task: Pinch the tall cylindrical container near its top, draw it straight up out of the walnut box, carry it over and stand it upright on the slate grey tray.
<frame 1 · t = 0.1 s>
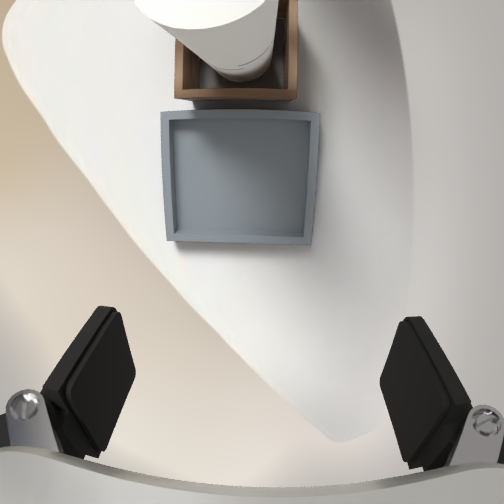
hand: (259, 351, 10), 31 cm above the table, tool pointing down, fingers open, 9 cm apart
cylindrical container: (241, 54, 33), resting in walnut box
walnut box: (241, 54, 33), on the table
slate tray: (239, 174, 39), on the table
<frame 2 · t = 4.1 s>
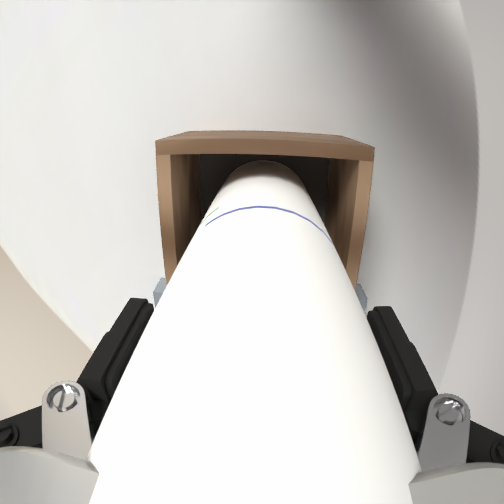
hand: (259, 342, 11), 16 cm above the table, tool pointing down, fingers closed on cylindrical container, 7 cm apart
cylindrical container: (263, 204, 26), resting in walnut box, touching gripper
walnut box: (263, 204, 25), on the table
slate tray: (258, 350, 32), on the table
when the fingers open (18 cm above the table, at t = 12.5 s): cylindrical container stays where it is, resting on slate tray.
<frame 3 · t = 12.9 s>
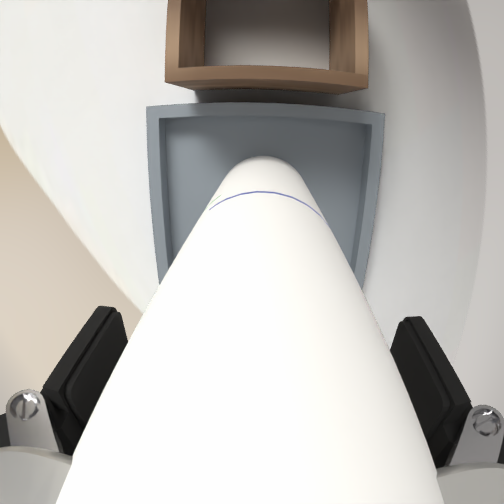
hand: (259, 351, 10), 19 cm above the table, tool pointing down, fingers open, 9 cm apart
cylindrical container: (263, 198, 26), point 1 cm above the table, touching slate tray
walnut box: (267, 24, 21), on the table
slate tray: (263, 199, 27), on the table
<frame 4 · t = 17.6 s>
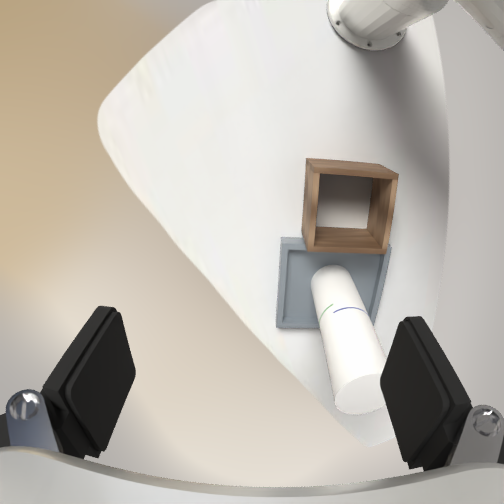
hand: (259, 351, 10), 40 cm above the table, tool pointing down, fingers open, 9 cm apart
cylindrical container: (331, 282, 54), point 1 cm above the table, touching slate tray
walnut box: (340, 197, 49), on the table
slate tray: (330, 282, 55), on the table
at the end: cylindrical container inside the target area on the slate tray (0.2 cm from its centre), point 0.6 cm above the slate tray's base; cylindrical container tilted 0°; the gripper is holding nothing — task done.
